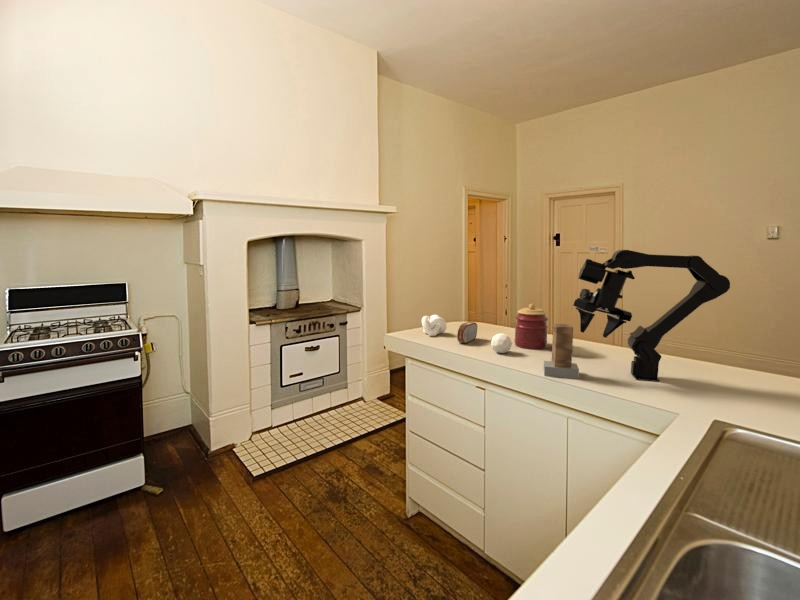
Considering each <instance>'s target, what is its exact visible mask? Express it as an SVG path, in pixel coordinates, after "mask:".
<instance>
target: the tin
mask: <svg viewBox="0 0 800 600" xmlns="http://www.w3.org/2000/svg"><path fill="white" fill-rule="evenodd" d="M477 334H478V324H477V323H476V322H474V321H466V322H464V323H461V324H460V326H459V328H458V329H457V334H456V335H457V338H456V339H457V342H459V343H461V344H467V343H470V342H472V341H474V340H475V339H476V338H477Z"/></svg>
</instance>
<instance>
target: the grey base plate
mask: <svg viewBox="0 0 800 600" xmlns="http://www.w3.org/2000/svg"><path fill="white" fill-rule="evenodd" d="M579 371H580V368H579V367H578V363H577V362H572V364H571V368H567V367H554V365H553V364H552V360H544V361H543V374H544V376H545V377H555V378H567V379H577V380H578V379H579V378H580V377H579V376H580V375H579V373H580V372H579Z"/></svg>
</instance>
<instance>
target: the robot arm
mask: <svg viewBox="0 0 800 600" xmlns="http://www.w3.org/2000/svg"><path fill="white" fill-rule="evenodd" d="M643 267H644V268H645V267H654V268H656V267H657V268H659V267H660V268H677V269H678V268H679V269H687V270H688V272H689V273H690V274H691V276H692V277H693V278H694V279H695V280H696V282H695V283H694V284H693V285H692V287H691V289H690V291H689V293H688V294H687V295H686V296H685V297H683V298H682V299H681V300H680V301H679V302H676V304H674V306H673V307H671V308H670V309H668V310H667V311H666V312H665V313H664V314H663V315H662V316H661V317H659V318H658V319H656V320H655V321H654V322H653V323H652V324H651V325H649V326H646V327H644V326H642V325H638V326H637V327H636V329H635V330H634V331H632V332H629V335H630V336H629V337H628V338H627V346H628V347H629V349H631V350H632V351H633V353H634V356H633V360H632V361H631V363H630V364H631V366H630V374H631V376H632V377H633V378H634V380H639V381H640V380H642V381H651V382H652V381H653V382H654V381H655V382H659V381H660V378H659V377H658V376H659V367H660V366H659V364H660V360H661V359H662V355H661V354H660V352H658V351H657V350H656V348H657V346H658V345H659V344H660V342H661V340H662V338H663V337H664V335H667V333H669V332H670V331H671V330H672V329H673V328H675V327H676V326H677V325H679V323H681V322H682V321H683V320H684V319H686V318H688V317H689V315H691V314H692V313H693V312H695V310H697V309H698V308H700V307H701V305H704V304H705V303H708V302H711V301H713V300H715V299H717V298H719V297H721V296H723V295H724V294H726V293H727V292H729V290H730V288H731V281H730V279H729V278H728V277H727V276H726V275H722V274H720V273H719V272H718V271H717V270H716V269H714V268H713V267H712V266H711V265H710V264H708V263H707V262H706V261H705V260H704V259H703V258H702V257H701V256H699V255H694V254H691V255H676V254H674V255H672V254H670V255H669V254H650V253H644V252H639V251H635V250H630V249H618V250H616V251H614V252H613V254H612V255H611V258H609V259H607V260H606V261H604V262H602V263H601V262H597V261H594V260H592V259H589V258H586V259H585V261H584V263H583V264H582V267H581V268H580V270H579V273H578V280H581V281H585V282H588V283H591V284H596V285H598V283H602V284H601V288H599V287H598V288H596V291H595V292H593V291H591V290H590V289H587V288H582V289H581V291H580V293H579V297H577V298H576V299H575V300H574V303H573V307H575V309H576V310H577V311H578V313H579V316H580V317H579V319H580V324H579V325H580V326H579V327H580V328H579V331H580V332H581V333H585V332H586V330H587V329H588V327H589V326H590V323H591V322H592V320H593V319H594V317H595V315H596V314H595V313H594V312H600V313H602V314H603V313H604V314H607V315H606V316H607V317H606V319H607V323H606V326H605V328H604V331H603V333H602V337H603V338H608V336H610V335H611V334H612V333H613V332H614V331H616V330H617V329H618V328H619V327H621V326H623V325H624V324H627V322H631V320H632V318H633V315H632V312H630V311H628V310H626V309H622V308H620V307H617V306H616V305H617V303H618V300H619V299H623V295H622V291H623V288H624V287H625V283H626V281H627V279H631V280H635V279H636V277H635V276H634V275H633V274H634V273H633V272H632V270H627V269H637V268H643ZM606 268H607V269H611V270H607V269H606ZM618 268H619V269H618ZM614 269H615V270H614ZM620 269H623V270H620ZM612 270H614V271H612ZM624 270H627V271H624Z"/></svg>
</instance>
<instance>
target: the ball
mask: <svg viewBox="0 0 800 600" xmlns="http://www.w3.org/2000/svg"><path fill="white" fill-rule="evenodd" d="M490 344H491V347H492V350H493V351H494V352H496V353H497V354H506V353H507V352H509V351H510V350H511V349H512V344H513V342H512V339H511V337H510V336H509V335H507V334H506V333H497V334H495V335H493V336H492V338H491V342H490Z"/></svg>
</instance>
